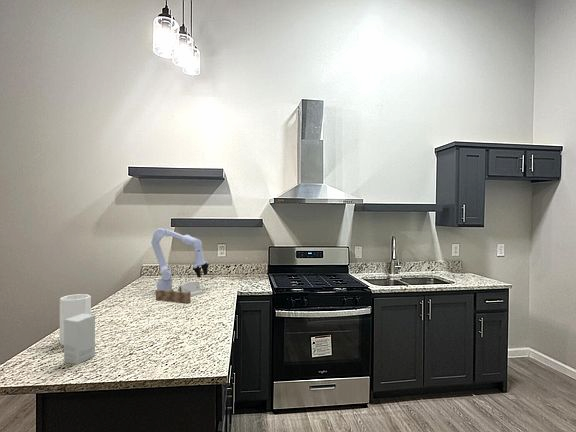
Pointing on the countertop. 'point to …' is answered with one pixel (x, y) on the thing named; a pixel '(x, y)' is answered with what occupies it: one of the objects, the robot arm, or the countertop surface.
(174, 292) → the walnut bracket
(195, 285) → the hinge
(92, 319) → the skincare box
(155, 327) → the countertop surface
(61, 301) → the cup
